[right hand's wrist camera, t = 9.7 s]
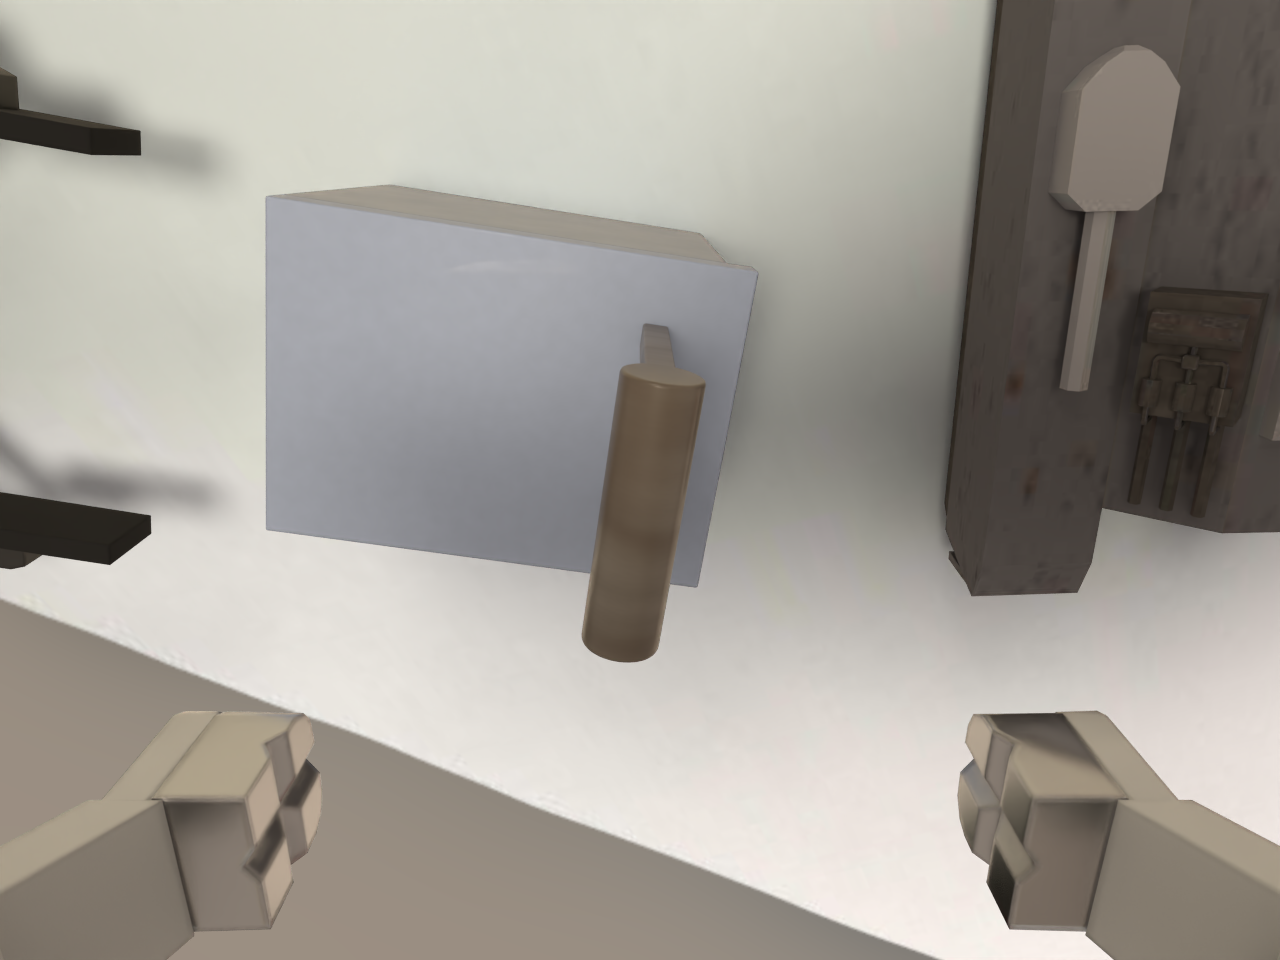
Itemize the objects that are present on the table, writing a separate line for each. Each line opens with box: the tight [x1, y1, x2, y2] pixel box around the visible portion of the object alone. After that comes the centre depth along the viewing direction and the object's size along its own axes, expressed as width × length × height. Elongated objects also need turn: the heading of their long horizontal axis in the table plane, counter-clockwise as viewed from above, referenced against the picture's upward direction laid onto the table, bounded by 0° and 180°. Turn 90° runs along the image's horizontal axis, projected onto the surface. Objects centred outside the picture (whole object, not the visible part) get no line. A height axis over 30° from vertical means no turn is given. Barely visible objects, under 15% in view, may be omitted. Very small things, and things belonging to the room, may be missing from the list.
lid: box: [266, 195, 758, 662], centre depth 21 cm, size 13×9×8 cm
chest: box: [284, 185, 726, 263], centre depth 30 cm, size 12×9×10 cm
